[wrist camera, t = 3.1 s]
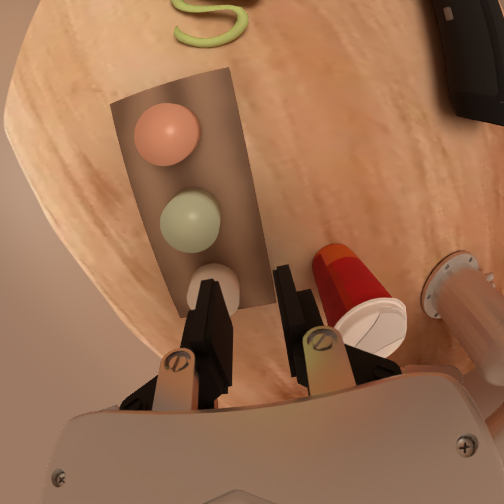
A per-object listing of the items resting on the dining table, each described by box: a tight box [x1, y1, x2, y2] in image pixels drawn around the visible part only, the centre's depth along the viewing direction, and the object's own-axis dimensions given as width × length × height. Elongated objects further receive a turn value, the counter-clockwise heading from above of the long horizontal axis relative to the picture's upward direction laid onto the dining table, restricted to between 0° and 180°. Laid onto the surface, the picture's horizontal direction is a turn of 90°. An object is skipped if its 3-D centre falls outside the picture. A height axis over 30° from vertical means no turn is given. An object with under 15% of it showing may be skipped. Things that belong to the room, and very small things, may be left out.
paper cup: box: [312, 244, 407, 358], centre depth 28 cm, size 8×8×14 cm
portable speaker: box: [432, 0, 504, 126], centre depth 15 cm, size 26×10×10 cm, turn 7°
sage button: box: [160, 188, 221, 253], centre depth 25 cm, size 5×5×3 cm
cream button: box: [187, 263, 240, 316], centre depth 28 cm, size 5×5×3 cm
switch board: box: [110, 67, 276, 318], centre depth 29 cm, size 12×26×3 cm, turn 11°
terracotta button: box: [134, 103, 201, 166], centre depth 21 cm, size 5×5×3 cm
